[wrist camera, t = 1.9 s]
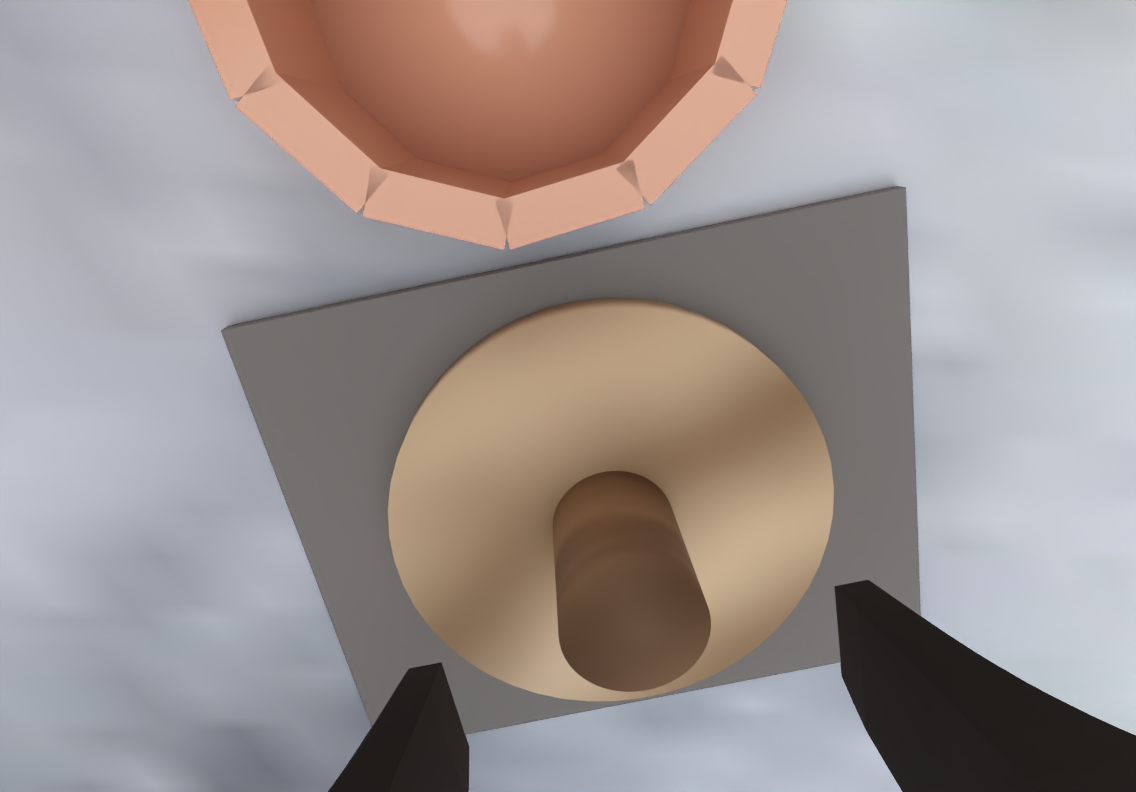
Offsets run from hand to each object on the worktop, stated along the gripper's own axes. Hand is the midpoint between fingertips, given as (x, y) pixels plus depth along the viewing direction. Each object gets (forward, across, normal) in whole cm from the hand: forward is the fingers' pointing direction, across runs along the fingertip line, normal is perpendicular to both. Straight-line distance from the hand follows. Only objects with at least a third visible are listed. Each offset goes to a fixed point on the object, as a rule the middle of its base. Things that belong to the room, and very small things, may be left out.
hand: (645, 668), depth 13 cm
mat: (+7, 0, 0) cm, 7 cm away
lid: (+6, 0, 0) cm, 6 cm away
